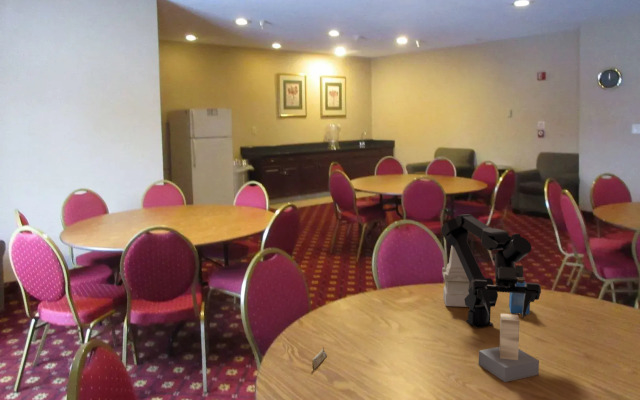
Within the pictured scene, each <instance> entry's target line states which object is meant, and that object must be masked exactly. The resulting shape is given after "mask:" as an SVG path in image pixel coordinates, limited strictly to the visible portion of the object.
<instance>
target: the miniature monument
mask: <svg viewBox="0 0 640 400" xmlns="http://www.w3.org/2000/svg"><path fill="white" fill-rule="evenodd" d="M450 247H451V248H450V253H449V260H448V263H447V264H446V268H445V266H444V267H442V270H441V271H442V272H441V274H442V277H443V280H444V281H445V282H444V283H445V285H444V286H443V289H442V290H443V291H442V293H443V295H442V297H443V298H442V299H443V302H444V305H445V307H463V308H465V307H467V308H469V307H468V306H466V305H465V300H464V299H465V298H466V297H467V296H468V294H469V291H468V289H469V284H470V282H469V280H468V277H467V275H466V273H465V271H464V268H463V266H462V264H461V262H460V259H459V257H458V255H457V253H456V250H455V248H454V247H453V246H452V245H451V246H450Z"/></svg>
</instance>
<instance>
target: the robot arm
mask: <svg viewBox="0 0 640 400" xmlns="http://www.w3.org/2000/svg"><path fill="white" fill-rule="evenodd" d="M469 233H471V234H472V235H474V236H475V237H476V238H478V239H480V240H481V241H480V244H481V245H482V246H483V247H484V248H485V249H486V250H487V251H496V250H498V251H496V253H495V252H494V253H495V254H494V255H493V256H492V258H491V260H492V261H494V264H495V265H494V271H495V274H494V275H495V278H494V279H495V282H494V281H493V279H492V278H491V277H485V276H484V275H483V272H482V270H481V268H480V266H479V263H478V262H477V260H476V258H475V255H474V253H473V251H472V249H471V247H470V244H469V243H468V238H469ZM441 235H442V236H443V238H444V240H445V241H446V243H448V244H449V245H452V246H453V247H454V248H455V250H456V253H457V255H458V257H459V259H460V262H461V264H462V266H463V268H464V271H465V273H466V275H467V277H468V280H469V282H470V284H469V289H468V291H469V294H468V296H467V297H466V298H465V299H464V300H465V305H466V306H468V307H467V308H469V309H468V310H467V311H468V313H467V314H468V315H467V319H466V323H468V324H469V325H472V326H473V327H475V328H477V329H478V328H479V329H480V328H485V327H491V326H494V323H493V322H491V311H492V310H491V308H493V307H494V308H495V307H496V304H497V301H498V297H499V293H509V294H510V293H523V294H524V301H523V312H522V314H521V315H522V319H525V317H526V315H527V314H526V311H527V308H528V306H529V304H530V305H531V303H534V302H535V301H537V300H539V299H540V295H541V294H542V287H541V284H539V283H538V282H525V285H524V286H525V287H518V286H516V284H517V277H520V278H522V277H523V278H524V266H523V265H516V263H518V262H520V261H521V260H522V259H523V258H524V257H526V256H527V255H528V254H529V253H530V252H531V251H532V244H531V242H530V241H528V240H527V239H526V238H525V237H523V236H521V234H520V233H513V234H512V235H510V234H509V232H508V231H507V230H503V229H500V228H496V227H495V228H494V227H490V226H488V225H487V224H485V223H483V222H482V221H480V220H479V219H477V218H476V217H474V215H473V214H470V213H468V214H466V213H465V214H459V215H457V216H456V217H455V218H453V219H450V220H448V221H447V222H445V223H443V225H442V226H441Z"/></svg>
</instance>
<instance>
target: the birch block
mask: <svg viewBox="0 0 640 400" xmlns="http://www.w3.org/2000/svg"><path fill="white" fill-rule="evenodd" d="M499 321H500V323H499V346H498V347H499V353H500V358H501V359H512V360H518V349H520V347H519V345H520V343H519V342H520V323H521V322H520V318H519V315H518V314H514V313H510V314H509V313H500V319H499Z"/></svg>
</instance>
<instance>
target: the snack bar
mask: <svg viewBox="0 0 640 400" xmlns="http://www.w3.org/2000/svg"><path fill="white" fill-rule="evenodd" d="M326 357H328V354H327V352H326V351H325V347H324V346H323V347H322V349H321V350H320V351H319V352H318V353H317V354H316V355H315V356H314V357H312V359H311V364H312V370H313V371H315V369H317V368H318V367H319V365H320V364H321V363H322V362H323V361H324V360H325V359H326Z"/></svg>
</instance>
